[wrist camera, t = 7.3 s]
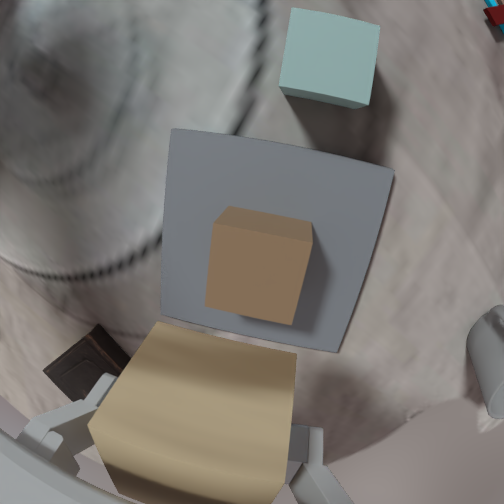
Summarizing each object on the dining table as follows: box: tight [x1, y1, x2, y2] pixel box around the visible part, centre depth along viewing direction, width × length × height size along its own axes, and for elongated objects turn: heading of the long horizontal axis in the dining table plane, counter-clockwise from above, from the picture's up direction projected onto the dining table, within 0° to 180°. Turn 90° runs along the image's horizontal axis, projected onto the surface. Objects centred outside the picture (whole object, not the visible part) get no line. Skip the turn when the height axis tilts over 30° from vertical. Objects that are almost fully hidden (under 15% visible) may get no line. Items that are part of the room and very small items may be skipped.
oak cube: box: [87, 321, 297, 504], centre depth 9 cm, size 5×5×5 cm
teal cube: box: [279, 7, 380, 109], centre depth 17 cm, size 5×5×5 cm
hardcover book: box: [43, 324, 131, 402], centre depth 36 cm, size 16×23×2 cm
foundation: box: [161, 129, 395, 353], centre depth 22 cm, size 16×16×5 cm
